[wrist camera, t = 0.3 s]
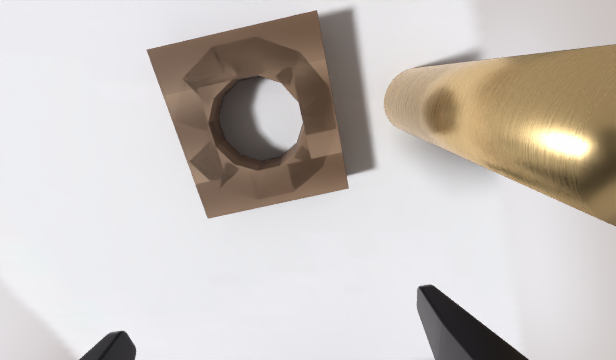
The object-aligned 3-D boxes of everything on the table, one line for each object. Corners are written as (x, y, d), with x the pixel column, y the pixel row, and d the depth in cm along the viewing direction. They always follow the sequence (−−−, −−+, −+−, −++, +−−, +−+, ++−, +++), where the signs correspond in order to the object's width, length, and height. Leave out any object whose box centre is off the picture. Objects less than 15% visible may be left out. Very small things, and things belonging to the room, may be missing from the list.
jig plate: (342, 177, 22) (348, 188, 20) (217, 204, 23) (207, 218, 20) (314, 19, 19) (316, 10, 16) (164, 53, 19) (146, 49, 17)
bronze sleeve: (446, 124, 21) (759, 211, 7) (388, 137, 21) (576, 249, 7) (443, 61, 20) (828, 7, 6) (380, 75, 20) (596, 58, 6)
